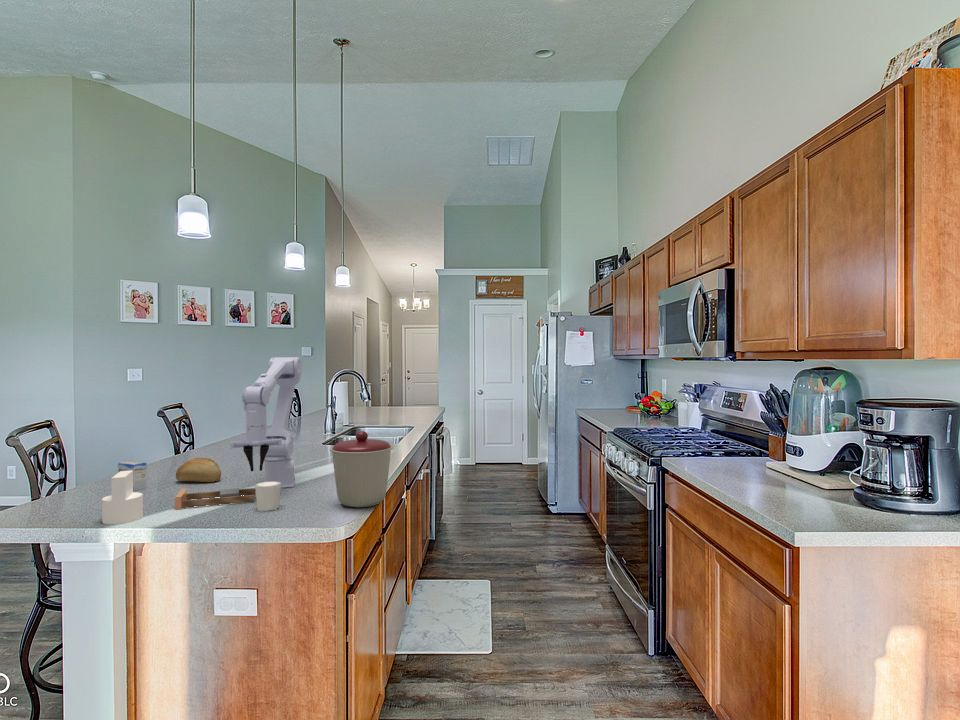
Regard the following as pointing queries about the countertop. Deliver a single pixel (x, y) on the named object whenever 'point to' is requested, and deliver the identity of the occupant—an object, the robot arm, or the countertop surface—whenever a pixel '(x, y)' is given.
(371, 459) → the canister
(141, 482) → the medicine box
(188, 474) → the bread roll
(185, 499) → the rail lane
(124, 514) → the base with upright slab
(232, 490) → the block
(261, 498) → the white cylinder
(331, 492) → the countertop surface
